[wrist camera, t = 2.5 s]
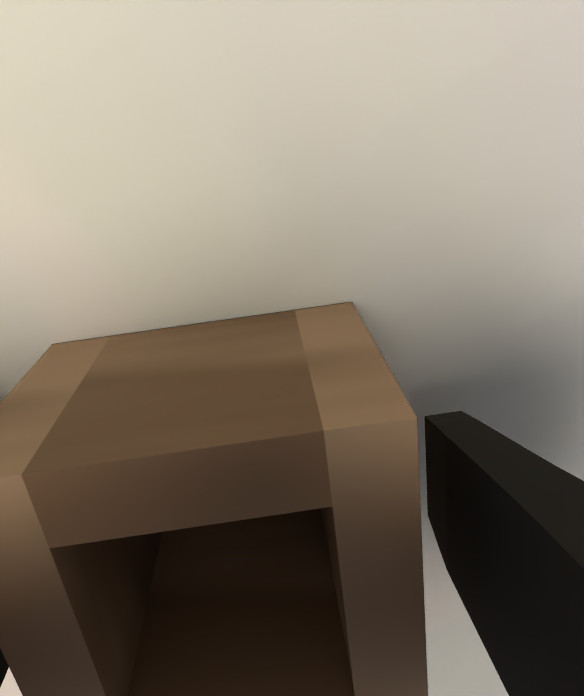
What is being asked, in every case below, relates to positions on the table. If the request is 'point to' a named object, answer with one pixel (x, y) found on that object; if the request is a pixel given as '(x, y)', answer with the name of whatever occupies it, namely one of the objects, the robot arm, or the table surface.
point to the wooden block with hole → (213, 514)
